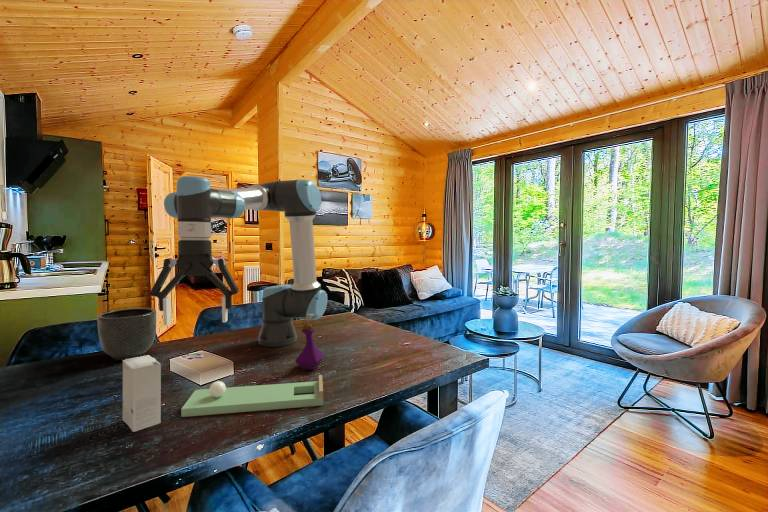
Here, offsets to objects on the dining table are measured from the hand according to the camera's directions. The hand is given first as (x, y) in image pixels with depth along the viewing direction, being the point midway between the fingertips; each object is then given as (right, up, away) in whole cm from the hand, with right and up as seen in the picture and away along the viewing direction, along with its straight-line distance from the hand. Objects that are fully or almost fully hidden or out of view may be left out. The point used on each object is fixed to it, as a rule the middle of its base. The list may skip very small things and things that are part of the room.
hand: (196, 322), depth 93 cm
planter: (-43, -19, +38) cm, 61 cm away
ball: (+5, -18, +2) cm, 18 cm away
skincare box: (-9, -22, -7) cm, 25 cm away
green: (+14, -22, +4) cm, 26 cm away
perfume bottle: (+23, -20, +28) cm, 42 cm away
